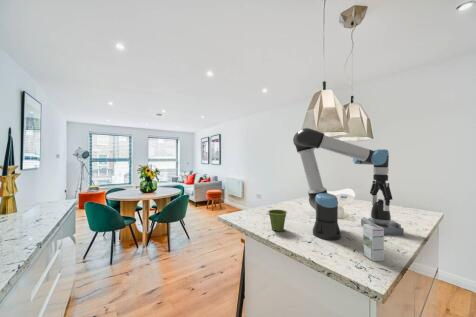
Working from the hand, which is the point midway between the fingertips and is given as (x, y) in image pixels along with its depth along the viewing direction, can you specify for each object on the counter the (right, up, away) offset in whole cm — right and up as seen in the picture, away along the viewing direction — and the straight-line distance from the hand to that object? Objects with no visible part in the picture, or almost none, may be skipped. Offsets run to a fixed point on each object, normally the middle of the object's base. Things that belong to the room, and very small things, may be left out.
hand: (379, 208), depth 123 cm
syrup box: (-28, -14, -35) cm, 47 cm away
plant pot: (-64, -14, 0) cm, 66 cm away
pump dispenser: (0, -10, 0) cm, 10 cm away
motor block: (+1, -14, +2) cm, 14 cm away
